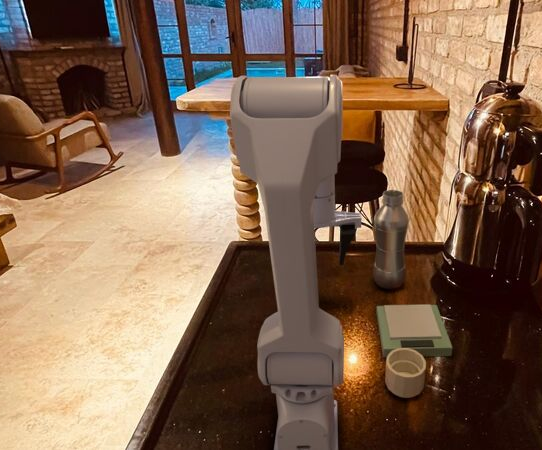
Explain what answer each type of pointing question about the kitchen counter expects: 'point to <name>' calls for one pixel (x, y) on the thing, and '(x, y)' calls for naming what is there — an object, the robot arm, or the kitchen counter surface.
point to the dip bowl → (405, 372)
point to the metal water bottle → (390, 241)
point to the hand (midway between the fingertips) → (320, 262)
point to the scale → (413, 329)
